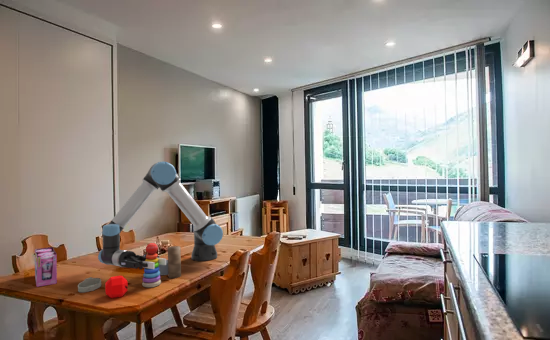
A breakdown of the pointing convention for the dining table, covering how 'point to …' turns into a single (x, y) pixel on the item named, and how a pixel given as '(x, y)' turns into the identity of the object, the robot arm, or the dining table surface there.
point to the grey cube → (163, 269)
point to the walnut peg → (174, 262)
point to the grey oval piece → (89, 284)
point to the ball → (116, 286)
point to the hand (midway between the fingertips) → (159, 263)
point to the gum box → (45, 266)
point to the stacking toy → (151, 275)
